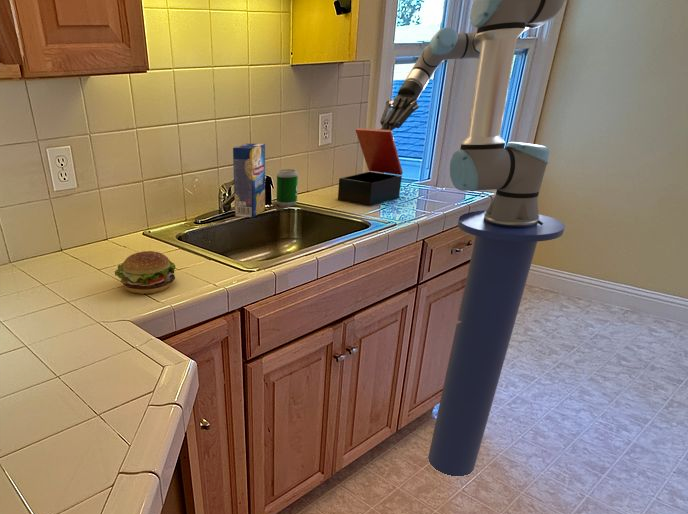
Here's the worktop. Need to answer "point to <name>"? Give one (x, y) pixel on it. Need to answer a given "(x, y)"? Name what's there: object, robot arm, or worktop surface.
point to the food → (146, 272)
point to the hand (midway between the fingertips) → (378, 142)
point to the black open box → (369, 188)
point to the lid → (379, 150)
